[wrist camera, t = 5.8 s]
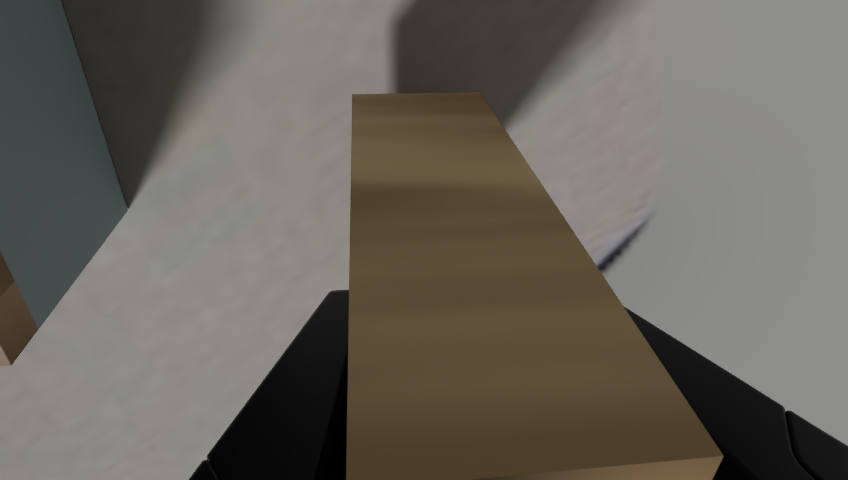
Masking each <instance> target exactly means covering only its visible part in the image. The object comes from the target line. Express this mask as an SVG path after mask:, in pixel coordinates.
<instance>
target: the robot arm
mask: <svg viewBox="0 0 848 480" xmlns="http://www.w3.org/2000/svg"><path fill="white" fill-rule="evenodd" d="M624 308H625V307H624ZM625 309H626V311H627V312H628V314H629V315H630V317H631V318H632V320H633V321H634V323H635V324H636V326H637V327H638V329H639V330H640V332H641V333H642V335H643V336H644V338H645V339H646V341H647V342H648V344H649V345H650V347H651V348H652V350H653V351H654V353H655V354H656V356H657V357H658V359H659V360H660V362H661V363H662V365H663V366H664V368H665V369H666V371H667V372H668V374H669V375H670V377H671V378H672V380H673V381H674V383H675V384H676V386H677V387H678V389H679V390H680V391H681V393H682V394H683V396H684V397H685V399H686V400H687V402H688V403H689V405H690V406H691V408H692V409H693V411H694V412H695V414H696V415H697V417H698V418H699V420H700V421H701V423H702V424H703V426H704V427H705V429H706V430H707V432H708V433H709V435H710V436H711V438H712V439H713V441H714V442H715V444H716V445H717V447H718V448H719V450H720V451H721V453H722V454H723V458H722V461H721V463H720V465H719V467H718V469H717V471H716V473H715V475H714V477H713V479H712V480H848V446H847V445H845V444H844V443H842V442H840V441H839V440H837V439H835V438H834V437H832V436H830V435H829V434H827V433H825V432H824V431H822V430H821V429H819V428H817V427H816V426H814V425H812V424H811V423H809V422H808V421H806V420H805V419H803V418H801V417H800V416H798V415H796V414H795V413H793V412H792V411H786V412H785V409H784V407H783V406H782V405H780V404H779V403H777V402H776V401H774V400H772V399H771V398H769V397H768V396H766V395H764V394H763V393H761V392H759V391H758V390H756V389H755V388H753V387H752V386H750V385H748V384H747V383H745V382H744V381H742V380H740V379H739V378H737V377H736V376H734V375H732V374H731V373H729V372H727V371H726V370H724V369H723V368H721V367H719V366H718V365H716V364H715V363H713V362H712V361H710V360H708V359H707V358H705V357H703V356H702V355H700V354H699V353H697V352H696V351H694V350H692V349H691V348H689V347H688V346H686V345H684V344H683V343H681V342H680V341H678V340H677V339H675V338H673V337H672V336H670V335H668V334H667V333H665V332H664V331H662V330H660V329H659V328H657V327H656V326H654V325H652V324H651V323H649V322H648V321H646V320H644V319H643V318H641V317H640V316H638V315H636V314H635V313H633V312H632V311H630V310H629V309H627V308H625ZM348 334H349V290H336V291H331V292H329V293H328V295H327V296H326V297H325V299H324V300H323V301H322V303H321V304H320V305H319V307H318V308H317V309H316V311H315V312H314V313H313V315H312V316H311V317H310V319H309V320H308V321H307V323H306V324H305V325H304V327H303V328H302V329H301V331H300V332H299V333H298V335H297V336H296V337H295V339H294V340H293V341H292V343H291V344H290V345H289V347H288V348H287V349H286V351H285V352H284V353H283V355H282V356H281V357H280V359H279V360H278V361H277V363H276V364H275V365H274V367H273V368H272V369H271V371H270V372H269V373H268V375H267V376H266V377H265V379H264V380H263V381H262V383H261V384H260V386H259V387H258V388H257V390H256V391H255V392H254V394H253V395H252V396H251V398H250V399H249V400H248V402H247V403H246V404H245V406H244V407H243V408H242V410H241V411H240V412H239V414H238V415H237V416H236V418H235V419H234V420H233V422H232V423H231V424H230V426H229V427H228V428H227V430H226V431H225V432H224V434H223V435H222V436H221V438H220V439H219V440H218V442H217V443H216V444H215V446H214V447H213V448H212V450H211V451H210V452H209V454H208V455H207V460H204V461H202V462H201V464H200V465H199V467H198V468H197V469H196V471H195V472H194V473H193V475H192V476H191V477H190V479H189V480H346V457H347V395H348Z"/></svg>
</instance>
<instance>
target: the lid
mask: <svg viewBox="0 0 848 480" xmlns="http://www.w3.org/2000/svg"><path fill="white" fill-rule="evenodd" d="M37 330H38V328H37V326H36V324H35V322H34V320H33V317H32V315H31V313H30V311H29V309H28V307H27V305H26V303H25V301H24V299H23V297H22V295H21V293H20V291H19V289H18V286H17V284H16V282H15V280H14V278H13V276H12V274H11V272H10V270H9V268H8V266H7V264H6V262H5V260H4V258H3V256H2V253H1V251H0V366H10V365H12V364H13V362H14V361H15V360H16V358H17V357H18V356H19V354H20V353H21V352H22V350H23V349H24V348H25V346H26V345H27V344H28V342H29V341H30V340H31V338H32V337H33V336H34V334H35V333H36V332H37Z"/></svg>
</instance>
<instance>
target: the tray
mask: <svg viewBox="0 0 848 480" xmlns="http://www.w3.org/2000/svg"><path fill="white" fill-rule="evenodd" d="M127 211H128V209H127V206H126V203H125V200H124V197H123V194H122V190H121V187H120V184H119V181H118V178H117V175H116V172H115V169H114V165H113V162H112V159H111V156H110V153H109V150H108V147H107V144H106V140H105V137H104V134H103V131H102V128H101V125H100V122H99V119H98V115H97V112H96V109H95V106H94V103H93V100H92V97H91V93H90V90H89V87H88V84H87V81H86V78H85V75H84V72H83V68H82V65H81V62H80V59H79V56H78V53H77V50H76V47H75V43H74V40H73V37H72V34H71V31H70V28H69V25H68V21H67V18H66V15H65V12H64V9H63V6H62V3H61V0H0V251H1V253H2V256H3V258H4V260H5V262H6V264H7V266H8V268H9V270H10V272H11V274H12V276H13V278H14V280H15V282H16V284H17V286H18V289H19V291H20V293H21V295H22V297H23V299H24V301H25V303H26V305H27V307H28V309H29V311H30V313H31V315H32V317H33V320H34V322H35V324H36V326H37V328H38V329H39V328H40V326H41V325H42V324H43V323H44V321H45V320H46V319H47V317H48V316H49V315H50V313H51V312H52V311H53V309H54V308H55V307H56V305H57V304H58V303H59V301H60V300H61V299H62V297H63V296H64V295H65V293H66V292H67V291H68V289H69V288H70V287H71V285H72V284H73V283H74V281H75V280H76V279H77V277H78V276H79V275H80V273H81V272H82V271H83V269H84V268H85V267H86V265H87V264H88V263H89V261H90V260H91V259H92V257H93V256H94V255H95V253H96V252H97V251H98V249H99V248H100V247H101V245H102V244H103V243H104V241H105V240H106V239H107V237H108V236H109V235H110V233H111V232H112V231H113V229H114V228H115V227H116V225H117V224H118V223H119V221H120V220H121V219H122V217H123V216H124V215H125V213H126V212H127Z"/></svg>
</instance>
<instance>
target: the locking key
mask: <svg viewBox="0 0 848 480" xmlns="http://www.w3.org/2000/svg"><path fill="white" fill-rule="evenodd" d="M722 458H723V454H722V453H721V451H720V450H719V448H718V447H717V445H716V444H715V442H714V441H713V439H712V438H711V436H710V435H709V433H708V432H707V430H706V429H705V427H704V426H703V424H702V423H701V421H700V420H699V418H698V417H697V415H696V414H695V412H694V411H693V409H692V408H691V406H690V405H689V403H688V402H687V400H686V399H685V397H684V396H683V394H682V393H681V391H680V390H679V389H678V387H677V386H676V384H675V383H674V381H673V380H672V378H671V377H670V375H669V374H668V372H667V371H666V369H665V368H664V366H663V365H662V363H661V362H660V360H659V359H658V357H657V356H656V354H655V353H654V351H653V350H652V348H651V347H650V345H649V344H648V342H647V341H646V339H645V338H644V336H643V335H642V333H641V332H640V330H639V329H638V327H637V326H636V324H635V323H634V321H633V320H632V318H631V317H630V315H629V314H628V312H627V311H626V309H625V308H624V306H623V305H622V304H621V302H620V301H619V299H618V298H617V296H616V295H615V293H614V292H613V290H612V289H611V287H610V286H609V284H608V283H607V281H606V280H605V278H604V277H603V275H602V274H601V272H600V271H599V269H598V268H597V266H596V265H595V263H594V262H593V260H592V259H591V257H590V256H589V254H588V253H587V251H586V250H585V248H584V247H583V245H582V244H581V242H580V241H579V239H578V238H577V236H576V235H575V233H574V232H573V230H572V229H571V227H570V226H569V224H568V223H567V221H566V220H565V218H564V217H563V216H562V214H561V213H560V211H559V210H558V208H557V207H556V205H555V204H554V202H553V201H552V199H551V198H550V196H549V195H548V193H547V192H546V190H545V189H544V187H543V186H542V184H541V183H540V181H539V180H538V178H537V177H536V175H535V174H534V172H533V171H532V169H531V168H530V166H529V165H528V163H527V162H526V160H525V159H524V157H523V156H522V154H521V153H520V151H519V150H518V148H517V147H516V145H515V144H514V142H513V141H512V139H511V138H510V136H509V135H508V133H507V132H506V130H505V129H504V128H503V126H502V125H501V123H500V122H499V120H498V119H497V117H496V116H495V114H494V113H493V111H492V110H491V108H490V107H489V105H488V104H487V102H486V101H485V99H484V98H483V96H482V95H481V93H480V92H448V93H401V94H355V95H352V149H351V211H350V272H349V334H348V395H347V457H346V480H712V479H713V477H714V475H715V473H716V471H717V469H718V467H719V465H720V463H721V461H722Z"/></svg>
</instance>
